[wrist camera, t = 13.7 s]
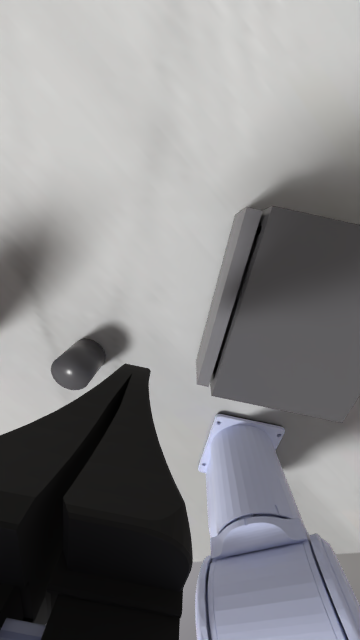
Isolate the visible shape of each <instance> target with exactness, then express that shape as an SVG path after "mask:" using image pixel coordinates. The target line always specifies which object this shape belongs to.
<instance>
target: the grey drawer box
mask: <svg viewBox="0 0 360 640" xmlns="http://www.w3.org/2000/svg"><path fill="white" fill-rule="evenodd" d="M255 235H259V238H258V241H257V244H256V248H255V251H254V254H253V257H252V260H251V263H250V267H249V270H248V273H247V276H246V279H245V283H244V286H243V289H242V292H241V295H240V298H239V302H238V305H237V308H236V311H235V314H234V317H233V321H232V324H231V327H230V330H229V333H228V337H227V340H226V343H225V346H224V349H223V352H222V356H221V359H220V362H219V365H218V363H217V360H216V364H215V367H214V370H213V373H212V377H211V380H210V386H211V395H212V396H215V397H220V398H225V399H229V400H234V401H239V402H244V403H249V404H253V405H258V406H263V407H268V408H273V409H277V410H282V411H287V412H292V413H297V414H301V415H306V416H311V417H316V418H321V419H325V420H330V421H335V422H340V423H343V421H344V419H345V418H346V416H347V415H348V413H349V412H350V410H351V408H352V407H353V405H354V404H355V402H356V401H357V399H358V397H359V396H360V225H357V224H353V223H348V222H344V221H339V220H334V219H330V218H325V217H321V216H316V215H312V214H307V213H303V212H298V211H294V210H289V209H285V208H280V207H276V206H271V207H269V208H267V209H265V210H262V214H261V217H260V221H259V224H258V227H257V230H256V234H255Z"/></svg>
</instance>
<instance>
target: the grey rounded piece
mask: <svg viewBox="0 0 360 640" xmlns="http://www.w3.org/2000/svg"><path fill="white" fill-rule="evenodd" d="M104 361H105V352H104V350H103V348H102V347H101V346H100V345H99V344H98V343H96V342H95V341H92V340H89V339H82V340H79V341H77V342H76V343H75V344H74V345H72V346H71V347H70V348H69V349H68V350H67V351H65V352H64V353H63V354H62V355H61V356H60V357H58V358H57V359H56V360H55V361H54V362H53V364H52V366H51V373H52V376H53V378H54V379H55V381H56V382H57V383H58V384H59V385H61V386H62V387H64V388H67V389H70V390H80V389H83V388H84V387H86V386H87V385H88V383H89V382H90V381H91V379H92V378H93V377H94V375H95V374H96V373H97V371H98V370H99V369H100V367H101V366H102V365H103V363H104Z"/></svg>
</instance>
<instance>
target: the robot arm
mask: <svg viewBox="0 0 360 640" xmlns="http://www.w3.org/2000/svg"><path fill="white" fill-rule="evenodd" d="M149 377H150V370H149V369H148V368H143V367H139V366H134V365H129V364H124V365H122V366H121V367H120V368H119V369H118V370H116V371H115V372H114V373H113V374H112V375H110V376H109V377H108V378H106V379H105V380H104V381H102V382H101V383H100V384H98V385H97V386H96V387H94V388H93V389H91V390H90V391H88V392H87V393H85V394H84V395H82V396H81V397H79V398H78V399H76V400H74V401H73V402H71V403H69V404H68V405H66V406H64V407H62V408H60V409H59V410H57V411H55V412H53V413H51V414H49V415H47V416H44V417H42V418H40V419H38V420H36V421H34V422H32V423H30V424H27V425H25V426H23V427H20V428H18V429H16V430H13V431H11V432H8V433H5V434H3V435H0V640H179V621H180V617H181V614H182V596H183V587H184V585H185V582H186V580H187V578H188V576H189V573H190V571H191V567H192V559H193V557H192V543H191V534H190V528H189V522H188V517H187V512H186V507H185V502H184V500H183V498H182V496H181V494H180V492H179V490H178V488H177V486H176V484H175V482H174V480H173V477H172V475H171V473H170V470H169V468H168V466H167V463H166V460H165V458H164V455H163V452H162V449H161V447H160V444H159V441H158V437H157V434H156V430H155V427H154V423H153V418H152V413H151V407H150V400H149V387H148V385H149ZM218 421H220V422H218ZM284 433H285V430H284V428H283V427H281V426H276V425H271V424H266V423H262V422H257V421H252V420H247V419H242V418H238V417H233V416H228V415H223V414H217V415H216V416H215V419H214V422H213V425H212V428H211V431H210V434H209V436H208V439H207V442H206V445H205V448H204V451H203V454H202V457H201V460H200V463H199V466H198V470H199V471H200V472H203V473H206V488H207V507H208V526H209V532H210V536H211V538H210V545H211V555H210V556H207V557H206V558H205V559H204V560H203V563H202V565H201V569H200V573H199V576H198V581H197V587H196V597H195V618H196V632H197V640H360V605H359V603H358V601H357V598H356V596H355V594H354V592H353V590H352V588H351V586H350V583H349V581H348V579H347V577H346V575H345V573H344V571H343V569H342V567H341V565H340V563H339V561H338V559H337V557H336V555H335V553H334V551H333V549H332V547H331V545H330V544H329V543H328V542H327V541H325V540H324V539H321V537H320V536H319V535H318V534H317V533H315V534H313V535H309V534H308V532H307V530H306V528H305V525H304V523H303V520H302V518H301V515H300V513H299V510H298V507H297V505H296V502H295V500H294V497H293V495H292V492H291V490H290V487H289V484H288V482H287V479H286V477H285V474H284V472H283V469H282V466H281V464H280V461H279V459H278V456H277V454H276V449H277V447H278V445H279V443H280V441H281V439H282V437H283V435H284Z"/></svg>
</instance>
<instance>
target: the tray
mask: <svg viewBox="0 0 360 640" xmlns="http://www.w3.org/2000/svg"><path fill="white" fill-rule="evenodd" d="M261 214H262V210H258V209H253V208H249V207H246V208H245V209H243V210H242V211H240V212H239V213H237V214H236V215H235V217H234V221H233V225H232V229H231V232H230V236H229V240H228V244H227V247H226V251H225V255H224V258H223V262H222V266H221V270H220V273H219V277H218V281H217V285H216V288H215V292H214V296H213V300H212V303H211V307H210V311H209V315H208V318H207V322H206V326H205V330H204V333H203V337H202V341H201V345H200V348H199V352H198V356H197V359H196V368H197V385H202V386H207V387H208V386H209V383H210V380H211V377H212V373H213V370H214V367H215V364H216V360H217V363H218V365H219V362H220V359H221V356H222V352H223V349H224V346H225V343H226V340H227V337H228V333H229V330H230V327H231V324H232V321H233V317H234V314H235V311H236V308H237V305H238V302H239V298H240V295H241V292H242V289H243V286H244V283H245V279H246V276H247V273H248V270H249V267H250V263H251V260H252V257H253V254H254V251H255V248H256V244H257V241H258V238H259V235H255V234H256V230H257V227H258V224H259V221H260V217H261Z"/></svg>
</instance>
